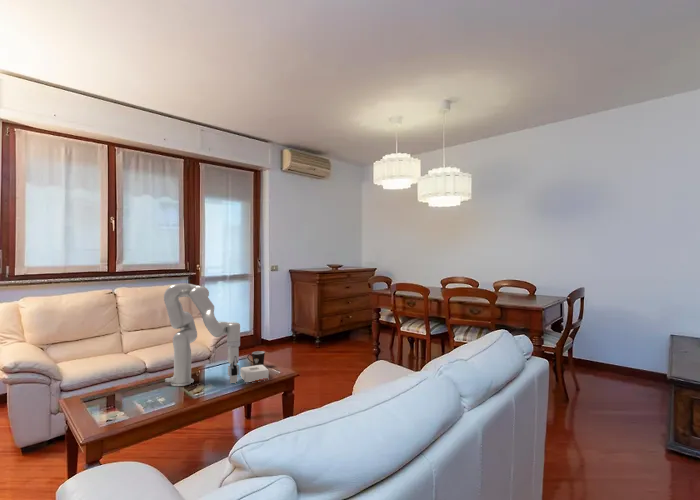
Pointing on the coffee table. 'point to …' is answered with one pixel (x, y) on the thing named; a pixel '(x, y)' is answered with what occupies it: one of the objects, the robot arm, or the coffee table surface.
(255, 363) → the coffee mug
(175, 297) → the robot arm
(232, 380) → the plug
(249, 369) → the socket
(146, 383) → the coffee table surface
